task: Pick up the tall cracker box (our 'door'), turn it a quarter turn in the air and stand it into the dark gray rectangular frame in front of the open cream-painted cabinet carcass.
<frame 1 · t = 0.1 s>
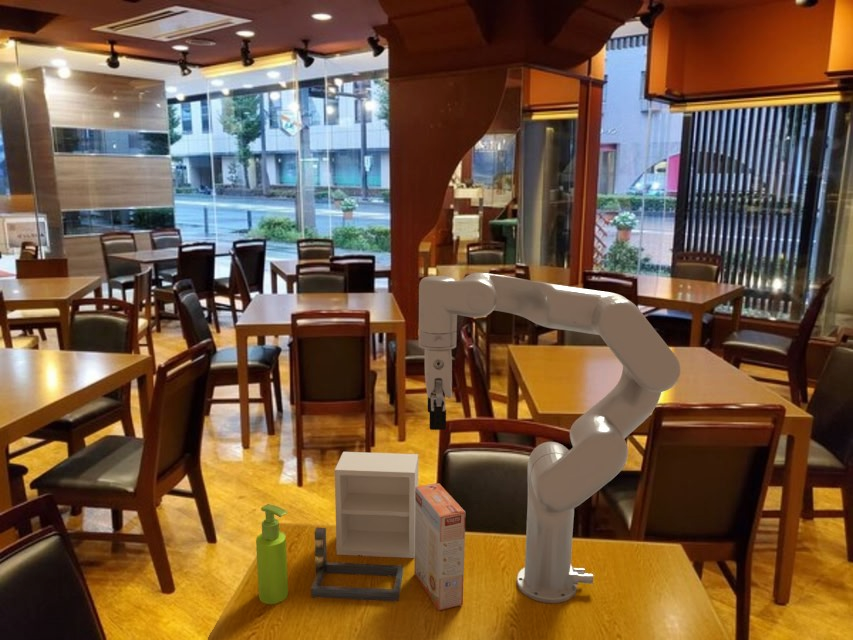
hand: (436, 420, 130), 37 cm above the table, tool pointing down, fingers open, 9 cm apart
cracker box: (438, 589, 135), on the table
cabinet: (378, 544, 152), on the table
soap dispenser: (275, 596, 132), on the table
dark gray rectangular frame: (358, 585, 136), on the table
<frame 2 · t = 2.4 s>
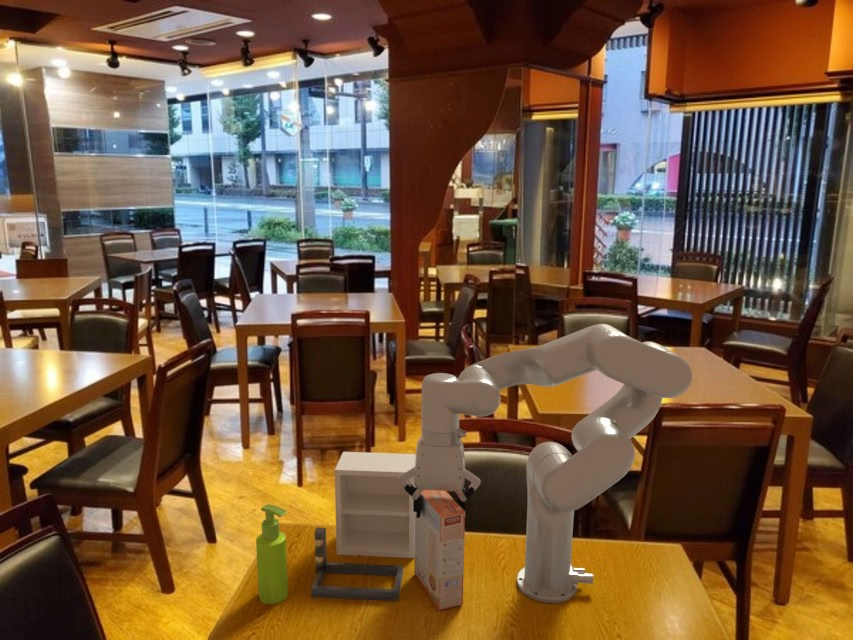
hand: (439, 515, 131), 17 cm above the table, tool pointing down, fingers closed on cracker box, 7 cm apart
cracker box: (438, 589, 135), on the table, touching gripper
everything else where it was.
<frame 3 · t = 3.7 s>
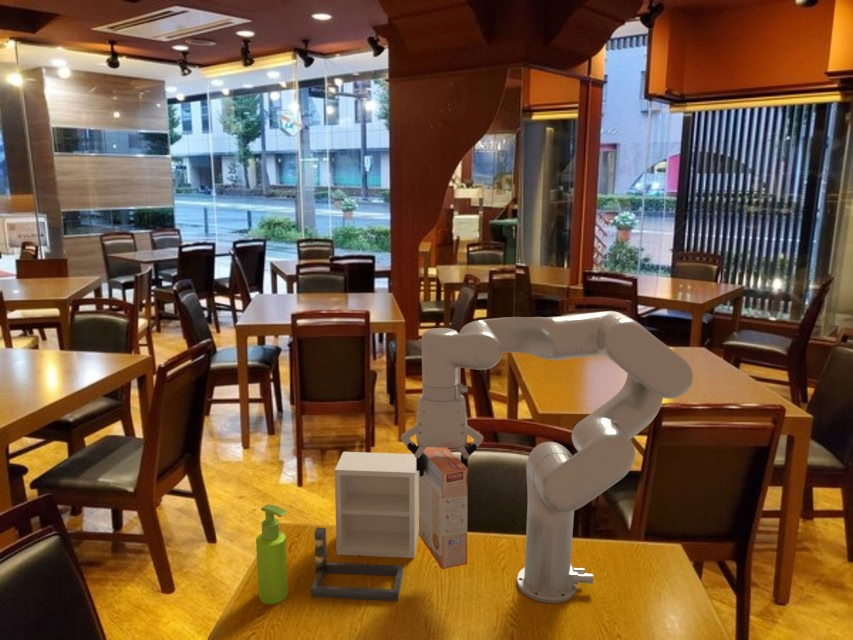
hand: (442, 473, 130), 26 cm above the table, tool pointing down, fingers closed on cracker box, 7 cm apart
cracker box: (442, 550, 133), point 9 cm above the table, touching gripper
everything else where it was.
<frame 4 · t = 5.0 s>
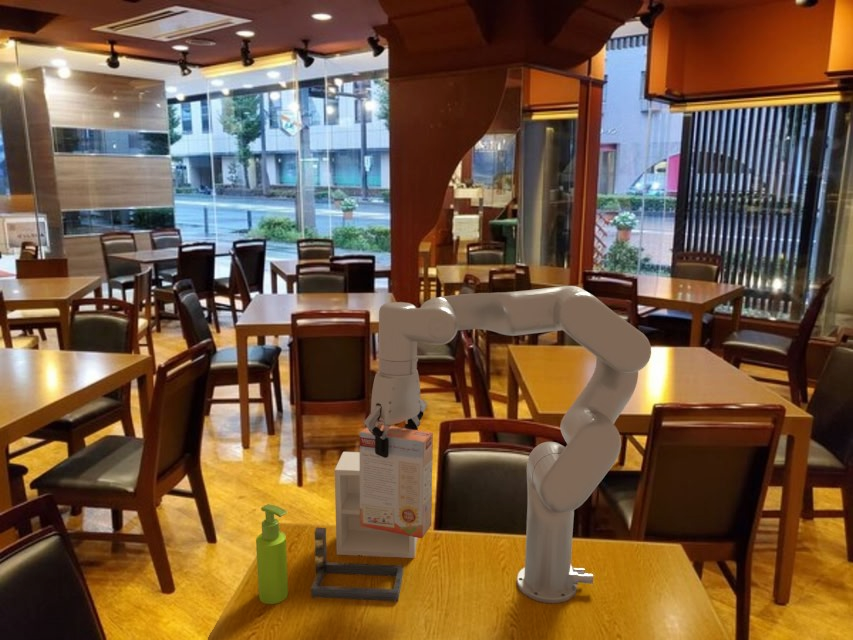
hand: (396, 449, 129), 31 cm above the table, tool pointing down, fingers closed on cracker box, 7 cm apart
cracker box: (395, 527, 133), point 14 cm above the table, touching gripper
everything else where it was.
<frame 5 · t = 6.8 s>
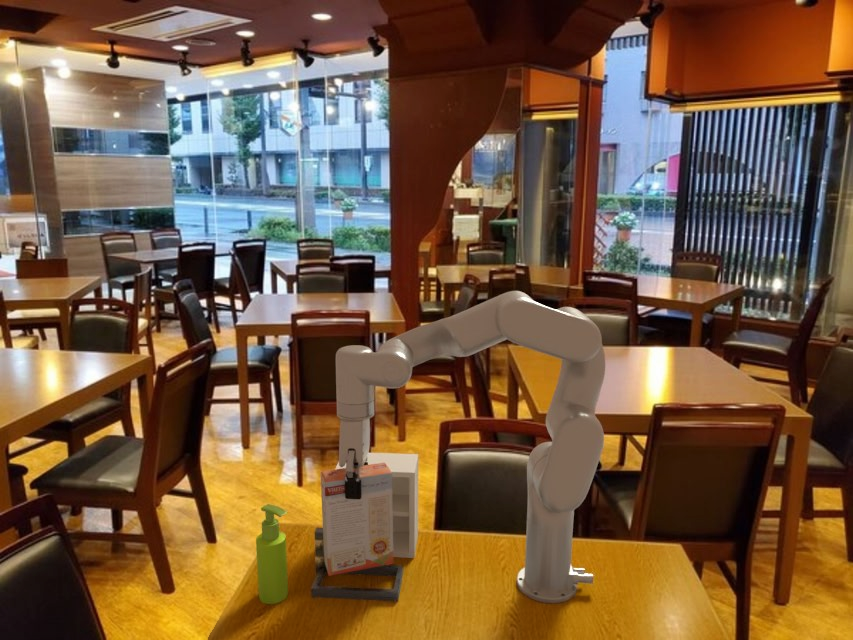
hand: (357, 488, 131), 22 cm above the table, tool pointing down, fingers closed on cracker box, 7 cm apart
cracker box: (358, 563, 135), point 5 cm above the table, touching gripper
everything else where it was.
when the fingers open (19 cm above the table, at t = 8.0 s): cracker box stays where it is, resting on dark gray rectangular frame.
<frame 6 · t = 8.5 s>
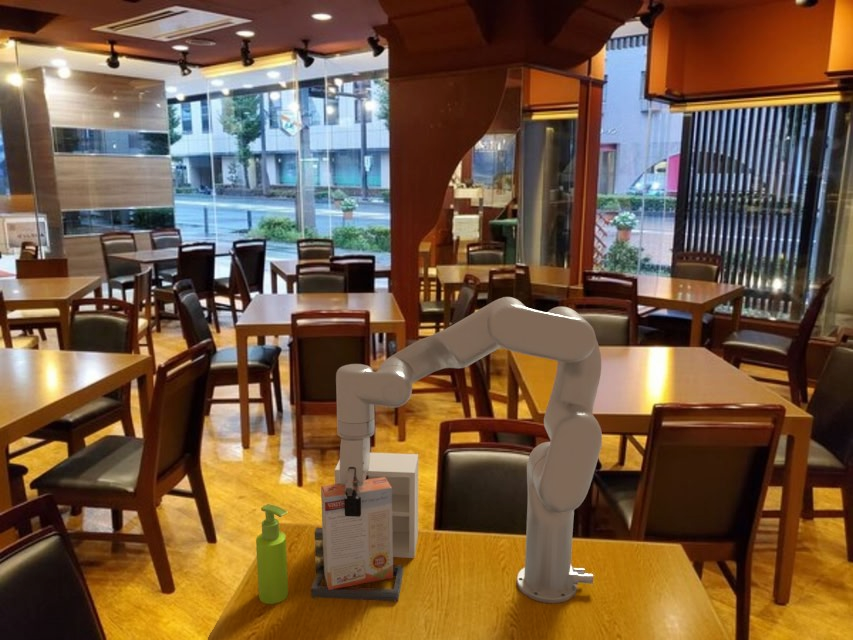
hand: (357, 503, 132), 19 cm above the table, tool pointing down, fingers open, 9 cm apart
cracker box: (358, 577, 136), point 2 cm above the table, touching dark gray rectangular frame
everything else where it was.
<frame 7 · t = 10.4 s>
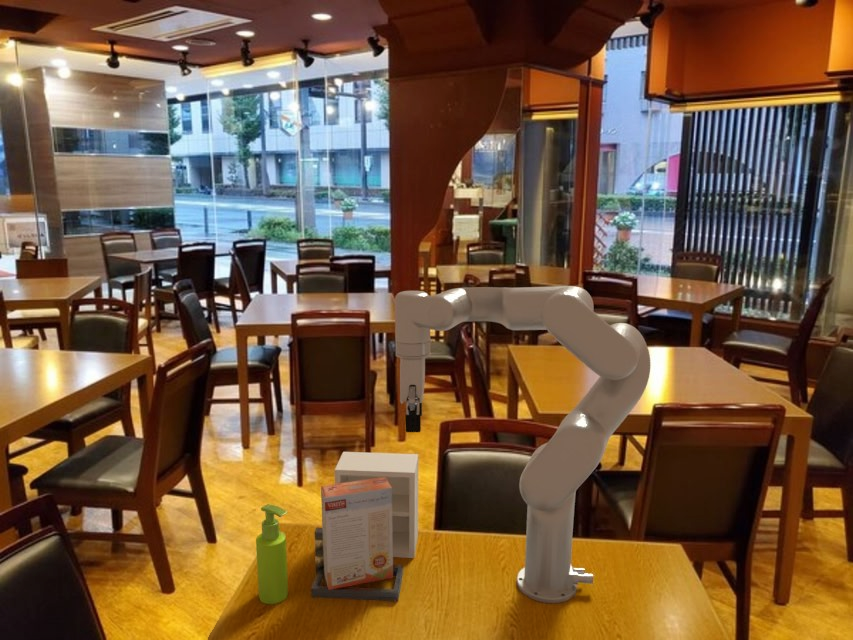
hand: (414, 423, 141), 32 cm above the table, tool pointing down, fingers open, 9 cm apart
nothing on the table moved.
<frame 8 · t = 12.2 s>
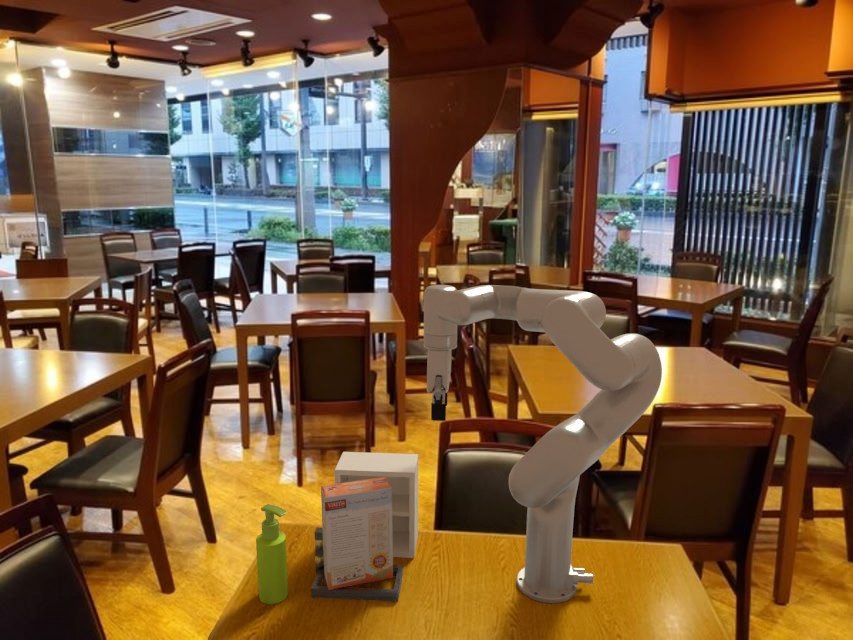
hand: (439, 412, 147), 32 cm above the table, tool pointing down, fingers open, 9 cm apart
nothing on the table moved.
at the end: cracker box inside the target area (0.1 cm from its centre), point 1.8 cm above the table; cracker box tilted 0°; the gripper is holding nothing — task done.
